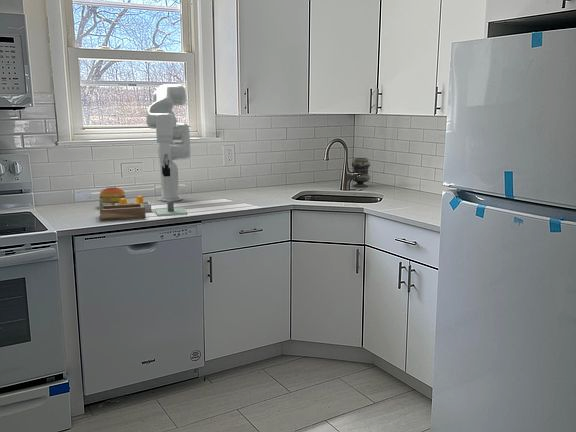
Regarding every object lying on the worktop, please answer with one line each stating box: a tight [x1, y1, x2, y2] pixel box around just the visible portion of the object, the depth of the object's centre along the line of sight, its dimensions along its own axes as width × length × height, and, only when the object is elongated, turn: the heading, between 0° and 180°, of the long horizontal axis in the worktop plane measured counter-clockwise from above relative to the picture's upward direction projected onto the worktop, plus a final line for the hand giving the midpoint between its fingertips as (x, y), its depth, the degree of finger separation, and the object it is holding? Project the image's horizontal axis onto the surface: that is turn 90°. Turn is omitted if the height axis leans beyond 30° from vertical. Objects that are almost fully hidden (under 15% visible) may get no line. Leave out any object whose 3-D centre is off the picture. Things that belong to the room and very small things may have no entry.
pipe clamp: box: [120, 195, 144, 205], centre depth 283 cm, size 12×4×6 cm, turn 141°
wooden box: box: [99, 199, 146, 222], centre depth 268 cm, size 12×20×8 cm, turn 109°
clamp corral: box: [115, 201, 152, 213], centre depth 283 cm, size 9×17×4 cm, turn 109°
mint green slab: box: [154, 201, 188, 217], centre depth 277 cm, size 12×14×6 cm
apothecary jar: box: [351, 157, 371, 188], centre depth 359 cm, size 12×12×18 cm
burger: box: [99, 186, 127, 205], centre depth 294 cm, size 13×14×10 cm
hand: (166, 175), depth 274 cm, fingers open, 9 cm apart
